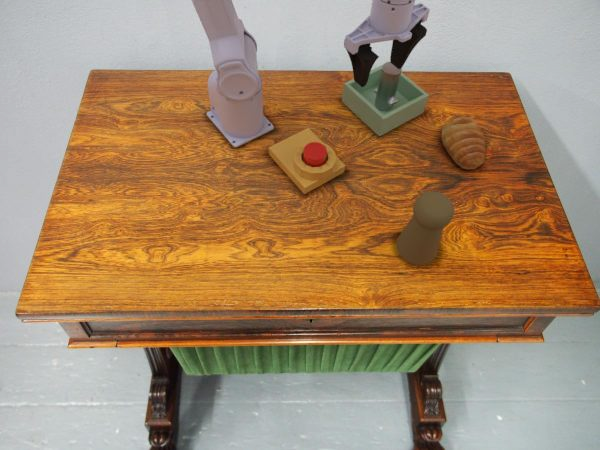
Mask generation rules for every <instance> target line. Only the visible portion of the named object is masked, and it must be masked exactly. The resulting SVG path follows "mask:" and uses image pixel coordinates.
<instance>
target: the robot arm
mask: <svg viewBox="0 0 600 450" xmlns="http://www.w3.org/2000/svg"><path fill="white" fill-rule="evenodd" d="M191 2H192V5H193V8H194V9H195V12H196V14H197V16H198V18H199V21H200V24H201V25H202V28H203V30H204V33H205V35H206V37H207V39H208V42H209V47H210V52H211V53H210V54H211V59H212V62H213V66H214V70H212V72H210V75H209V76H208V78H207V85H206V86H207V93H208V99H209V105H210V110H209V111H207V112H206V116H207V118H208V119H209V120H210V121H211V123H212V124H213V125H214V126H215V128H217V129H218V131H219V132H220V133H221V134H222V135H223V136H224V138H225V139H226V140H227V142H229V144H230V145H231V146H232V147H233V148H238V147H241V146H243V145H245V144H247V143H249V142H251V141H252V140H255V139H257V138H259V137H262V136H263V135H265V134H267V133H270V132H271V131H273V130H274V129H275V126H274V125H273V123H272V122H270V120H269V119H268V118H267V117H266V116H265V115H264V98H263V97H264V95H263V79H262V76H261V74H260V72H259V67H258V55H257V52H258V44H257V40H256V38H255V37H254V36H253V34H252V33H250V32H249V31H248V30H247V29H246V28H245V24H244V23H243V20H242V19H240V18H239V17H238V14H237V12H236V8H235V5H234V3H233V0H191ZM415 2H416V0H372V2H371V6H370V13H369V15H368V16H367V17H366V18H365V19H364V20H363V21H362V22H361V23H360V24H359V25H358V26H357V27H356V28H355V29H354V30H353V31H352V32H350V33H349V34H347V35H345V38H344V42H343V47H344V49H345V51H346V52H347V54H348V57H349V59H350V63H351V68H352V74H353V79H354V81H355V82H356V83H358V84H359V85H360V86H361V87H364V86H366V84H367V82H368V78H369V74H370V71H371V70H372V69H373V66H374V65H375V63H376V61H377V60H378V59H379V58H380V56H379V55H377V53H375V52H374V51H373V50H372V49H373V47H372V46H371V44H374V43H381V42H389V41H392V44H391V50H390V57H389V60H390V61H389V62H390V63H392V64H393V65H394V66H395V67H397V68H398V69H401V68H402V69H403V67H404V65H405V63H406V62H407V60H408V58H409V57H410V55H411V53H412V51H414V49H415V48H416V46H417V45H418V44H419V42H421V41H422V40H423V39H424V38H425V37H426V35H427V32H428V29H427V28H426V26H424V25H423V24H422V23H425V22H427V21H428V18H429V14H430V10H431V9H430V8H429V7H427V6H426V5H424V4H423V3H422V2H419V3H417V4H415Z"/></svg>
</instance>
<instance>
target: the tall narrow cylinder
mask: <svg viewBox="0 0 600 450" xmlns="http://www.w3.org/2000/svg"><path fill="white" fill-rule="evenodd" d="M382 65H383V66H382V71H381V75H380V80H379V85H378V88H376V89H374V93H376V99H375V107H376V108H377V109H379V110H381V111H388V110H390V109H391V108H392V107H393V105H394V104H396V103H397V101H398V100H397V99H395V95H396V91H397V87H398V83H399V79H400V75H401V72H402V70H403V67H402V68H401V69H398V68H397V67H395V66H394V65H393V64H392V63H390V61H386V62H385V63H383V64H382Z"/></svg>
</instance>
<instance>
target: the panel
mask: <svg viewBox="0 0 600 450" xmlns="http://www.w3.org/2000/svg"><path fill="white" fill-rule="evenodd" d="M311 142H318V143H321V144H323V145H324V146H325V147H326V149H327V157H326V161H325V163H324V164H323V165H321V166H319V167H312V166H309V165H307V164H306V163H305V162H304V160H303V151H304V147H305V146H306V145H307V144H309V143H311ZM268 155H269V156H270V157H271V159H272V160H273V161H274V162H275V163H276V164H277V165H278V167H279V168H280V169H281V170H282V171H283V172H284V173H285V174H286V175H287V177H288V178H289V179H290V180H291V182H293V184H294V185H295V186H296V187H297V188H298V189H299V190H300V192H302V193H303V195H306V194H308V193H309V192H312V191H313V190H314V189H316V188H319V187H320V186H322V185H324V184H325V183H327V182H329V181H331V180H333V179H335V178H337V177H338V176H340V175H342V174H344V173H345V170H346V164H345V163H344V162H343V161H342V160H341V159H340V158H339V157H338V156H337V155H336V152H335V150H334V149H333V148H332V147H331V146H330V145H329V144H327V143H325V142H323V141H322V140H321V139H320V138H319V137H318V135H316V134H315V133H314V132H313V130H312V129H310V128H309V127H307V128H305V129H303V130H301V131H299V132H296V133H295V134H293V135H291V136H288V137H287V138H284V139H283V140H281V141H278V142H276V143H275V144H273V145H271V146H269V147H268Z"/></svg>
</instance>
